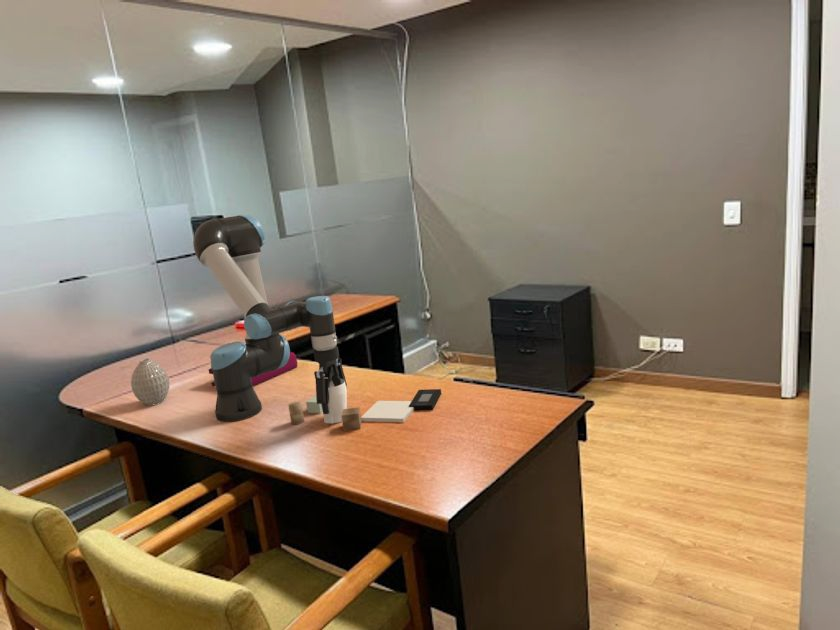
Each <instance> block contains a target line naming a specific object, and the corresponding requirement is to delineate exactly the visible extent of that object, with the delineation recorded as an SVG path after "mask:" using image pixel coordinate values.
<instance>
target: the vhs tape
mask: <svg viewBox="0 0 840 630" xmlns="http://www.w3.org/2000/svg"><path fill="white" fill-rule="evenodd" d="M440 395H441V396H442V389H441V388H440V389H439V388H434V389H429V388H428V389H418V391H417V392H416V394H415V395H414V397H412V398H413V399H412V400H410V401H411V403H410V405H409V407H414V411H413V412H415V411H419V412H420V411H423V412H424V411H425V412H426V411H434V408H435V407H436V405H437V403H438V401H439V400H440V397H441V396H440Z"/></svg>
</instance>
